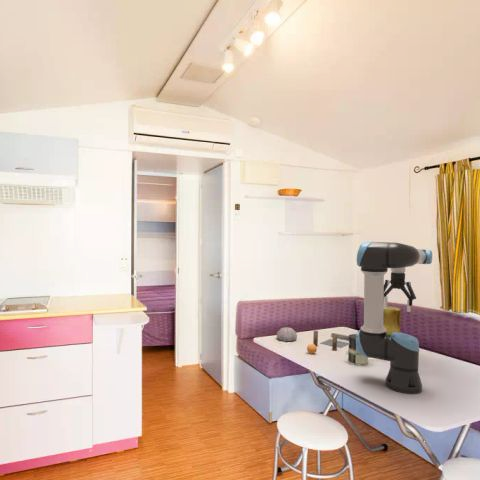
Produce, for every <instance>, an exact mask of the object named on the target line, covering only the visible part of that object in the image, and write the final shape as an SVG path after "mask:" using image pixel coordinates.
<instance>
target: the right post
mask: <svg viewBox="0 0 480 480" xmlns="http://www.w3.org/2000/svg"><path fill="white" fill-rule="evenodd" d="M336 334H337V333H336ZM336 334H333V337H332V340H333V341H332V346H331V348H332V349H331V350H332V351H335V352H337V350H338V347H337V341H338V338H337V335H336Z"/></svg>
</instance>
